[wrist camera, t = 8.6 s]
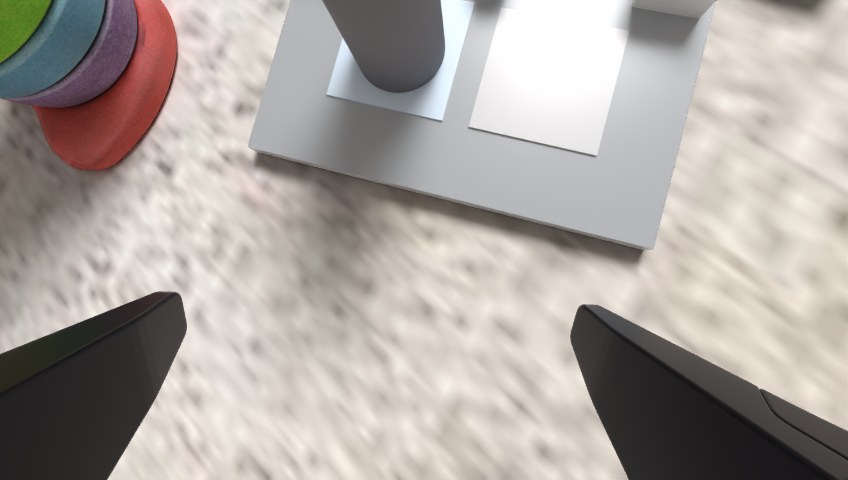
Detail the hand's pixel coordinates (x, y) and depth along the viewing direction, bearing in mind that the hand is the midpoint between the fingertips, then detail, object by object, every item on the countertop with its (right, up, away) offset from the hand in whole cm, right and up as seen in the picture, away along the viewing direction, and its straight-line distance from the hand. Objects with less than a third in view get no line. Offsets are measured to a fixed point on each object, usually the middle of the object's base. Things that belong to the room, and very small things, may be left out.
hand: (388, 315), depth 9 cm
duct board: (+3, +10, +11) cm, 15 cm away
